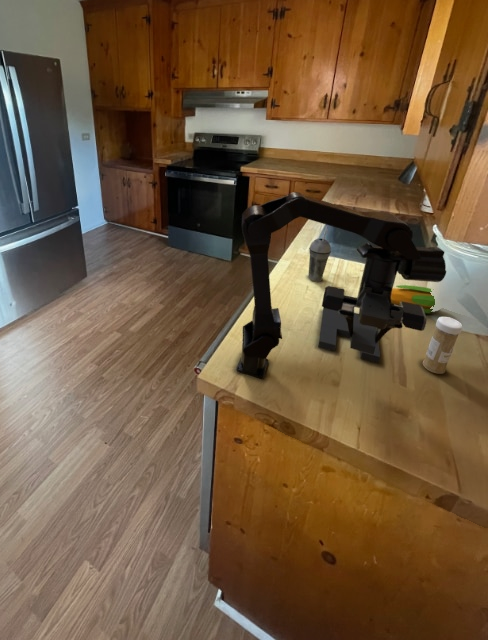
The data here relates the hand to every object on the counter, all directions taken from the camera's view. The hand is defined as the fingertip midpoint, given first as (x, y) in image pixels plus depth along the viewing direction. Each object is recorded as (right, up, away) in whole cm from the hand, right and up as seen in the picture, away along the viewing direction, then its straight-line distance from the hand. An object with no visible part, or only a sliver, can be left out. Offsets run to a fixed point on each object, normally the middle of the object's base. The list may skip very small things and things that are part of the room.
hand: (362, 339), depth 72 cm
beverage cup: (+8, +8, +48) cm, 50 cm away
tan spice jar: (+21, -9, +7) cm, 24 cm away
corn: (+30, 0, +31) cm, 43 cm away
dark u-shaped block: (+6, -4, +19) cm, 20 cm away
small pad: (0, -1, 0) cm, 1 cm away
